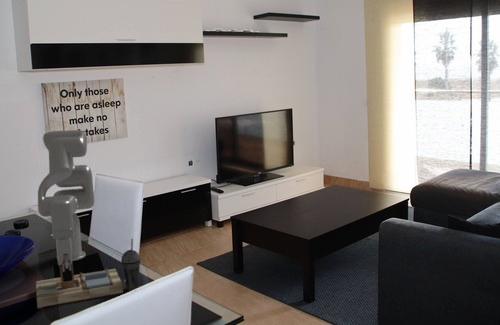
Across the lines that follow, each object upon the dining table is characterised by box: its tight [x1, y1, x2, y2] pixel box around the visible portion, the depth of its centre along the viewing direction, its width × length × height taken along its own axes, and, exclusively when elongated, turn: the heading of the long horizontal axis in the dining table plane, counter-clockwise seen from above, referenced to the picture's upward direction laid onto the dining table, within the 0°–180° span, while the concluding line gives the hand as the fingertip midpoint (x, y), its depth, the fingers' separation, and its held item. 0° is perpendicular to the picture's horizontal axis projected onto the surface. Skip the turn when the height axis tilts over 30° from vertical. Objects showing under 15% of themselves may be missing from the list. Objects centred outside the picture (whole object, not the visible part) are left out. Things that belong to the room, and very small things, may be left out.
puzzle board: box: [35, 268, 124, 309], centre depth 198 cm, size 18×30×4 cm, turn 113°
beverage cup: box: [120, 237, 141, 292], centre depth 197 cm, size 7×7×20 cm
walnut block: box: [59, 262, 75, 289], centre depth 196 cm, size 4×4×10 cm
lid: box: [85, 270, 110, 288], centre depth 197 cm, size 8×8×2 cm
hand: (67, 276), depth 195 cm, fingers open, 9 cm apart
